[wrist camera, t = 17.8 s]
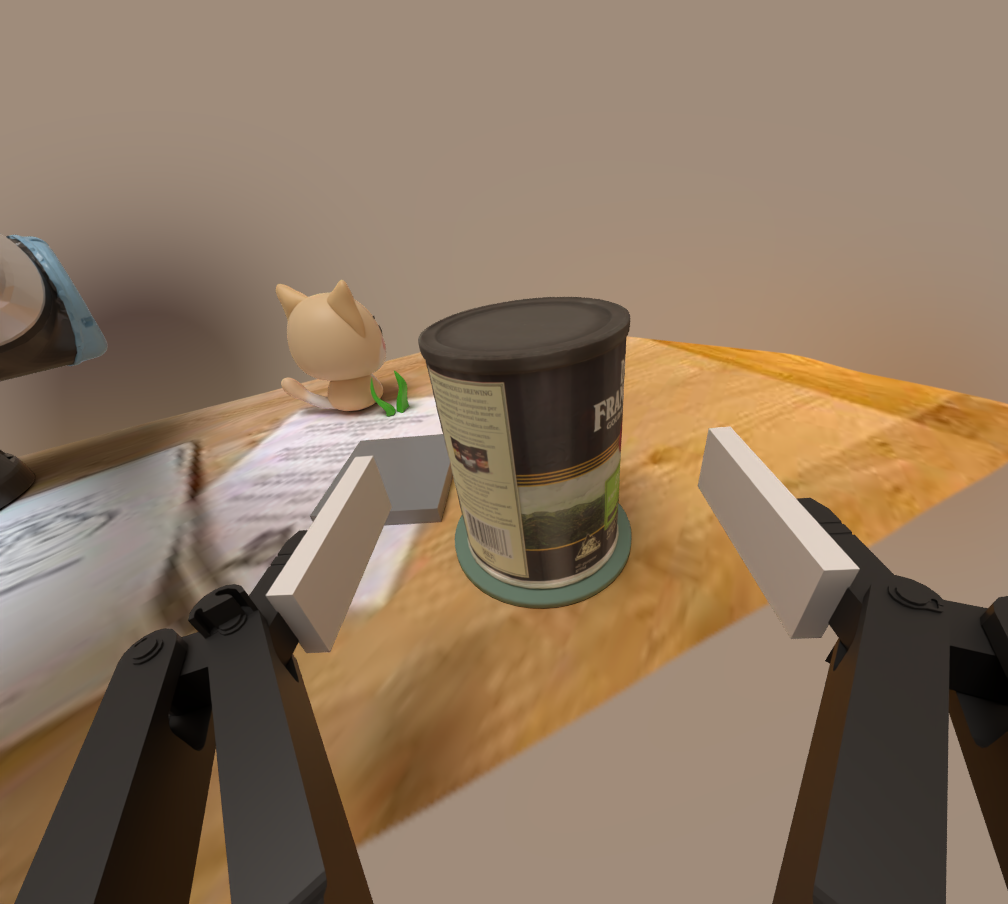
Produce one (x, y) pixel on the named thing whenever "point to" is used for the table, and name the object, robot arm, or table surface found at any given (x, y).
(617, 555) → the coaster
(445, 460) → the slate tile
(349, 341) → the kitten
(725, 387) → the table surface
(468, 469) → the coffee can
